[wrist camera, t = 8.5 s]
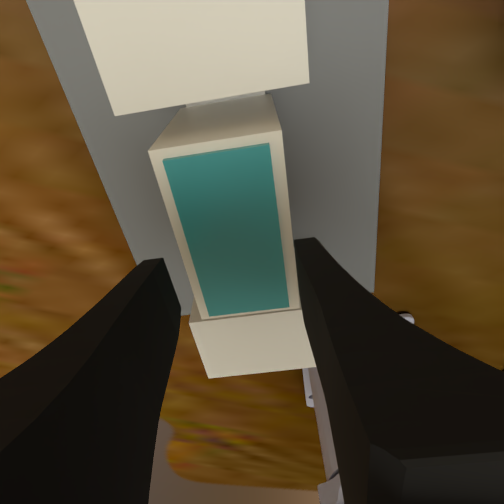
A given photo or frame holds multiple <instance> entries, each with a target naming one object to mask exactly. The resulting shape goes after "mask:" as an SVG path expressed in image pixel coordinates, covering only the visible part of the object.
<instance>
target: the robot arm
mask: <svg viewBox="0 0 504 504" xmlns="http://www.w3.org/2000/svg"><path fill="white" fill-rule="evenodd" d="M294 249H295V259H296V268H297V278H298V287H299V296H300V302H301V308H302V314H303V320H304V325H305V328H306V332H307V335H308V339H309V343H310V346H311V350H312V353H313V357H314V360H315V364H316V367H312V368H302V371H303V379H304V388H305V397H306V404H307V406H309V407H314V408H315V414H316V420H317V425H318V431H319V437H320V443H321V449H322V455H323V461H324V467H325V473H326V479H327V482H325V483H322V484H319V485H318V493H319V500H320V504H504V372H503V371H500V370H498V369H496V368H494V367H492V366H490V365H488V364H486V363H484V362H482V361H480V360H478V359H476V358H474V357H472V356H470V355H468V354H466V353H464V352H461V351H460V350H458V349H456V348H454V347H452V346H450V345H448V344H447V343H445V342H443V341H441V340H440V339H438V338H436V337H434V336H433V335H431V334H429V333H428V332H426V331H424V330H422V329H421V328H419V327H417V326H416V325H414V318H413V316H412V315H411V314H398V313H396V312H395V311H393V310H392V309H390V308H389V307H388V306H386V305H385V304H384V303H382V302H381V301H380V300H379V299H377V298H376V297H375V296H374V295H372V294H371V293H370V292H369V291H368V290H366V289H365V288H364V287H363V286H362V285H361V284H360V283H358V282H357V281H356V280H355V279H354V278H353V277H352V276H351V275H350V274H349V273H348V272H347V271H346V270H345V269H344V268H343V267H342V266H341V265H340V264H339V263H338V262H337V261H336V260H335V259H334V258H333V257H332V256H331V255H330V254H329V252H328V251H327V250H326V249H325V248H324V246H323V245H322V244H321V243H320V241H319V240H318V239H316V238H315V237H311V238H304V239H296V240H294ZM180 318H181V305H180V303H179V300H178V297H177V294H176V292H175V289H174V286H173V283H172V280H171V278H170V275H169V272H168V269H167V267H166V264H165V261H164V258H156V259H148V260H143V261H142V262H141V263H140V264H138V265H137V266H136V267H135V268H134V269H133V270H132V271H131V272H130V273H129V274H128V275H127V276H125V277H124V278H123V279H122V280H121V281H120V282H119V283H118V284H117V285H116V286H115V287H114V288H113V289H112V290H111V291H110V292H109V293H108V294H107V295H106V296H105V297H104V298H102V299H101V300H100V301H99V302H98V303H97V304H96V305H95V306H94V307H93V308H92V309H90V310H89V311H88V312H87V313H86V314H85V315H84V316H82V317H81V318H80V319H79V320H78V321H77V322H76V323H74V324H73V325H72V326H71V327H70V328H69V329H68V330H66V331H65V332H64V333H63V334H61V335H60V336H59V337H58V338H56V339H55V340H54V341H53V342H51V343H50V344H49V345H47V346H46V347H45V348H43V349H42V350H41V351H39V352H38V353H37V354H35V355H34V356H33V357H31V358H30V359H28V360H27V361H26V362H24V363H23V364H21V365H20V366H18V367H17V368H15V369H14V370H12V371H11V372H9V373H8V374H6V375H5V376H3V377H2V378H0V504H148V499H149V490H150V482H151V473H152V465H153V457H154V449H155V442H156V435H157V428H158V421H159V416H160V411H161V407H162V402H163V398H164V394H165V390H166V386H167V382H168V378H169V374H170V370H171V366H172V362H173V358H174V354H175V350H176V345H177V341H178V336H179V328H180Z"/></svg>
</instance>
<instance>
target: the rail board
mask: <svg viewBox="0 0 504 504" xmlns="http://www.w3.org/2000/svg"><path fill="white" fill-rule="evenodd" d="M26 1H27V4H28V6H29V9H30V11H31V13H32V16H33V18H34V21H35V23H36V25H37V28H38V30H39V32H40V35H41V37H42V40H43V42H44V44H45V47H46V49H47V52H48V54H49V56H50V59H51V61H52V64H53V66H54V68H55V71H56V73H57V75H58V78H59V80H60V83H61V85H62V87H63V90H64V92H65V95H66V97H67V99H68V102H69V104H70V107H71V109H72V111H73V114H74V116H75V118H76V121H77V123H78V126H79V128H80V130H81V133H82V135H83V138H84V140H85V142H86V145H87V147H88V150H89V152H90V154H91V157H92V159H93V161H94V164H95V166H96V169H97V171H98V173H99V176H100V178H101V181H102V183H103V185H104V188H105V190H106V193H107V195H108V197H109V200H110V202H111V204H112V207H113V209H114V212H115V214H116V216H117V219H118V221H119V224H120V226H121V228H122V231H123V233H124V236H125V238H126V240H127V243H128V245H129V247H130V250H131V252H132V255H133V257H134V259H135V262H136V264H137V265H138V264H140V263H141V262H142V261H143V260H148V259H156V258H164V261H165V264H166V267H167V269H168V272H169V275H170V278H171V280H172V283H173V286H174V289H175V292H176V294H177V297H178V300H179V303H180V305H181V315H189V314H190V319H189V325H190V328H191V331H192V334H193V336H194V339H195V342H196V345H197V348H198V350H199V353H200V356H201V359H202V362H203V364H204V367H205V370H206V373H207V376H208V378H217V377H226V376H236V375H245V374H255V373H264V372H274V371H283V370H293V369H302V368H312V367H316V364H315V360H314V357H313V353H312V350H311V346H310V343H309V339H308V335H307V332H306V328H305V325H304V320H303V314H302V308H301V302H300V296H299V287H298V296H299V306H300V308H297V309H288V310H280V311H271V312H262V313H254V314H245V315H237V316H228V317H219V318H211V319H201V316H200V313H199V310H198V306H197V303H196V300H195V297H194V294H193V291H192V288H191V285H190V281H189V278H188V275H187V272H186V269H185V266H184V263H183V260H182V256H181V253H180V250H179V247H178V244H177V241H176V238H175V235H174V231H173V228H172V225H171V222H170V219H169V216H168V213H167V210H166V206H165V203H164V200H163V197H162V194H161V191H160V188H159V185H158V181H157V178H156V175H155V172H154V169H153V166H152V163H151V160H150V156H149V153H148V150H149V149H150V147H151V146H152V145H153V144H154V142H155V141H156V140H157V138H158V137H159V136H160V134H161V133H162V132H163V131H164V129H165V128H166V127H167V125H168V124H169V123H170V121H171V120H172V119H173V118H174V116H175V115H176V114H177V112H178V111H179V110H180V108H185V107H191V106H198V105H204V104H210V103H216V102H222V101H228V100H234V99H240V98H246V97H252V96H258V95H264V94H270V93H271V96H272V99H273V102H274V106H275V109H276V112H277V116H278V119H279V122H280V126H281V129H282V137H283V147H284V157H285V167H286V177H287V187H288V197H289V207H290V217H291V226H292V236H293V246H294V240H296V239H304V238H311V237H315V238H316V239H318V240H319V241H320V243H321V244H322V245H323V246H324V248H325V249H326V250H327V251H328V252H329V254H330V255H331V256H332V257H333V258H334V259H335V260H336V261H337V262H338V263H339V264H340V265H341V266H342V267H343V268H344V269H345V270H346V271H347V272H348V273H349V274H350V275H351V276H352V277H353V278H354V279H355V280H356V281H357V282H358V283H360V284H361V285H362V286H363V287H364V288H365V289H366V290H368V291H369V292H370V293H371V292H374V281H375V262H376V242H377V222H378V203H379V183H380V163H381V144H382V124H383V104H384V85H385V65H386V45H387V25H388V6H389V0H26ZM294 256H295V249H294ZM295 266H296V259H295ZM296 276H297V268H296ZM297 286H298V278H297Z"/></svg>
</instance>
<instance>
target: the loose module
mask: <svg viewBox="0 0 504 504" xmlns="http://www.w3.org/2000/svg"><path fill="white" fill-rule="evenodd" d="M148 153H149V156H150V160H151V163H152V166H153V169H154V172H155V175H156V178H157V181H158V185H159V188H160V191H161V194H162V197H163V200H164V203H165V206H166V210H167V213H168V216H169V219H170V222H171V225H172V228H173V231H174V235H175V238H176V241H177V244H178V247H179V250H180V253H181V256H182V260H183V263H184V266H185V269H186V272H187V275H188V278H189V281H190V285H191V288H192V291H193V294H194V297H195V300H196V303H197V306H198V310H199V313H200V316H201V319H211V318H219V317H228V316H237V315H245V314H254V313H262V312H271V311H280V310H288V309H297V308H300V306H299V296H298V286H297V276H296V266H295V256H294V246H293V236H292V226H291V217H290V207H289V197H288V187H287V177H286V167H285V157H284V147H283V137H282V129H281V126H280V122H279V119H278V116H277V112H276V109H275V106H274V102H273V99H272V96H271V93H270V94H264V95H258V96H252V97H246V98H240V99H234V100H228V101H222V102H216V103H210V104H204V105H198V106H191V107H185V108H180V110H179V111H178V112H177V114H176V115H175V116H174V118H173V119H172V120H171V121H170V123H169V124H168V125H167V127H166V128H165V129H164V131H163V132H162V133H161V134H160V136H159V137H158V138H157V140H156V141H155V142H154V144H153V145H152V146H151V147H150V149H149V150H148Z"/></svg>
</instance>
